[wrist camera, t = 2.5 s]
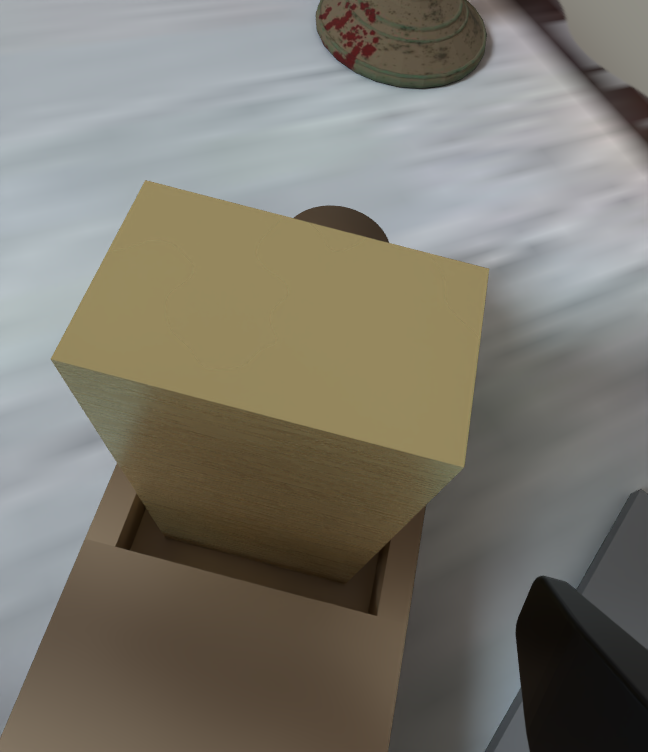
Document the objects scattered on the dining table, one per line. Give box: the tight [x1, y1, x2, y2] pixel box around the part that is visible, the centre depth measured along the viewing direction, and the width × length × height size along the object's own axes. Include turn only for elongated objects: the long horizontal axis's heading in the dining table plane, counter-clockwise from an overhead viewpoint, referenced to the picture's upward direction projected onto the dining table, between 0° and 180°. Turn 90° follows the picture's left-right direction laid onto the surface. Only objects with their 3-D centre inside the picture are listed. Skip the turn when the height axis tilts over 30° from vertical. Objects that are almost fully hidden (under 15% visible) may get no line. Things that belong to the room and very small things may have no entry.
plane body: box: [0, 206, 426, 752], centre depth 16 cm, size 16×8×6 cm, turn 167°
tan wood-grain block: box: [51, 180, 489, 585], centre depth 12 cm, size 3×5×10 cm, turn 77°
